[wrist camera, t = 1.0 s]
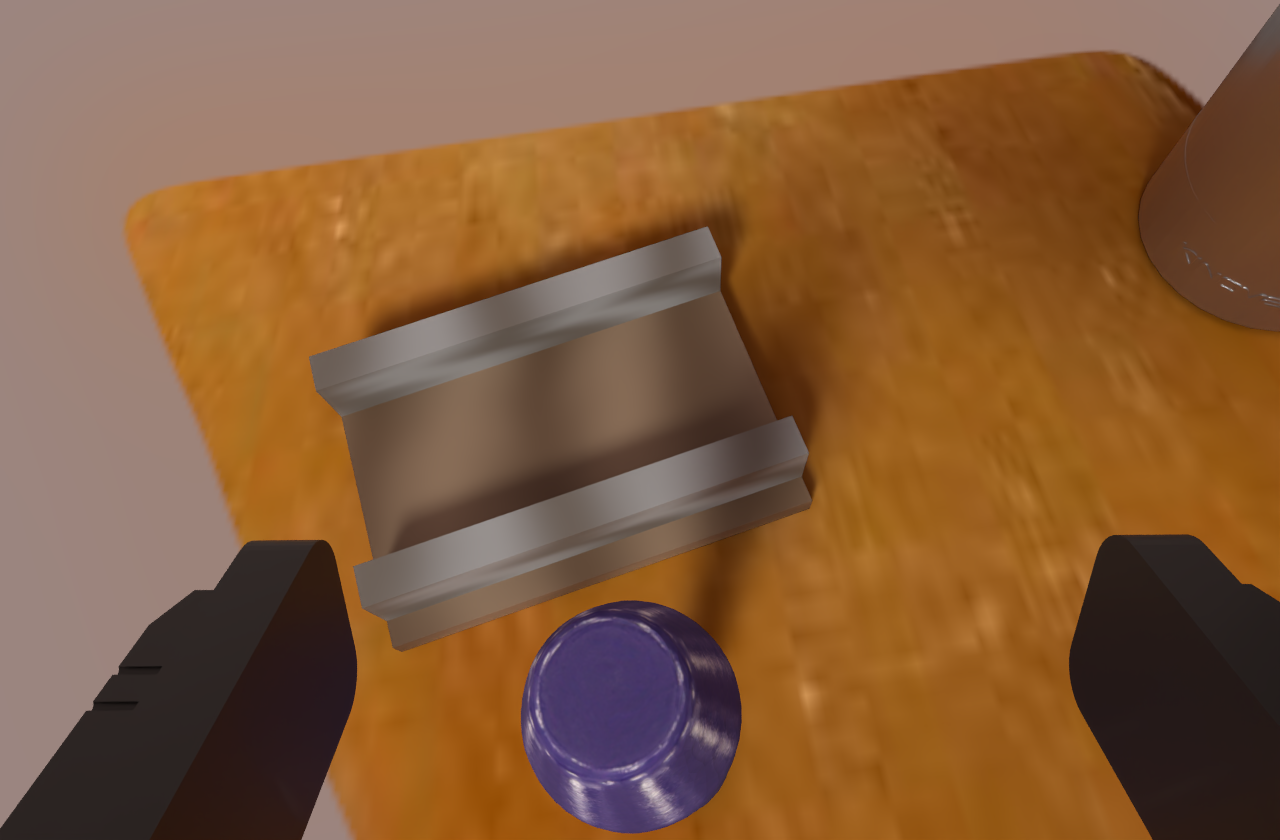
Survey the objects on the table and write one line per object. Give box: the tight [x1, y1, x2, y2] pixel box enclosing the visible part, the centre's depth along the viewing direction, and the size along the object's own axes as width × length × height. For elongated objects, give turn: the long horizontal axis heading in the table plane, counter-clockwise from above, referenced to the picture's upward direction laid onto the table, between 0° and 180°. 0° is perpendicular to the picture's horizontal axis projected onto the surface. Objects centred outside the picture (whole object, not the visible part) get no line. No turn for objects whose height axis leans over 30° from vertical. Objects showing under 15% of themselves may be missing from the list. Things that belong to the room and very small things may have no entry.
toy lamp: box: [521, 601, 741, 833], centre depth 23 cm, size 5×5×17 cm
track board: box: [309, 226, 812, 652], centre depth 34 cm, size 16×12×4 cm
